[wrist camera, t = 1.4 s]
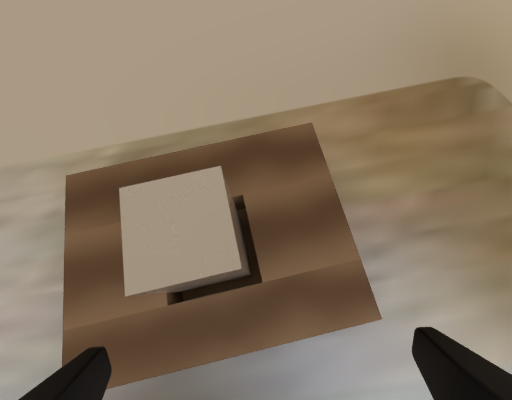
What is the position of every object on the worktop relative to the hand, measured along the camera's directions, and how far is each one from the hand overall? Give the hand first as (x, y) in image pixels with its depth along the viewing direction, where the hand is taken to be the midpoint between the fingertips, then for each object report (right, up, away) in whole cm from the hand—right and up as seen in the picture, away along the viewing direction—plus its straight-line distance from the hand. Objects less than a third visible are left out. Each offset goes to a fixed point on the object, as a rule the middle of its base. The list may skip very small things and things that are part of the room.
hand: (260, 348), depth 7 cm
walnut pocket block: (-3, -1, +15) cm, 16 cm away
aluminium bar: (-3, 0, +14) cm, 14 cm away
